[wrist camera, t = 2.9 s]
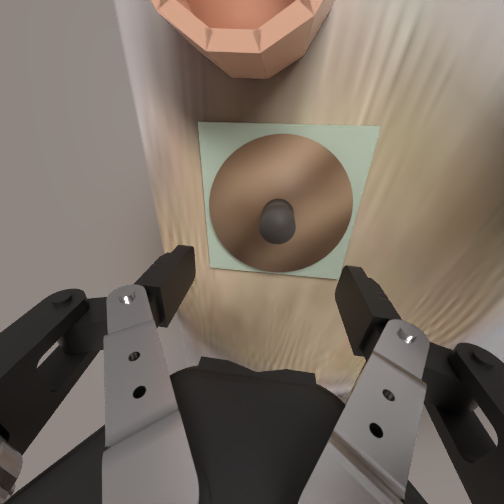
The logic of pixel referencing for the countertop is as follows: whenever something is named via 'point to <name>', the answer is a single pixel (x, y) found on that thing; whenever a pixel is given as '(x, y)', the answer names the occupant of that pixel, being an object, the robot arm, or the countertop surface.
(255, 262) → the lid
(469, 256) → the countertop surface
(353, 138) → the mat
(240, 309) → the countertop surface
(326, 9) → the bowl
